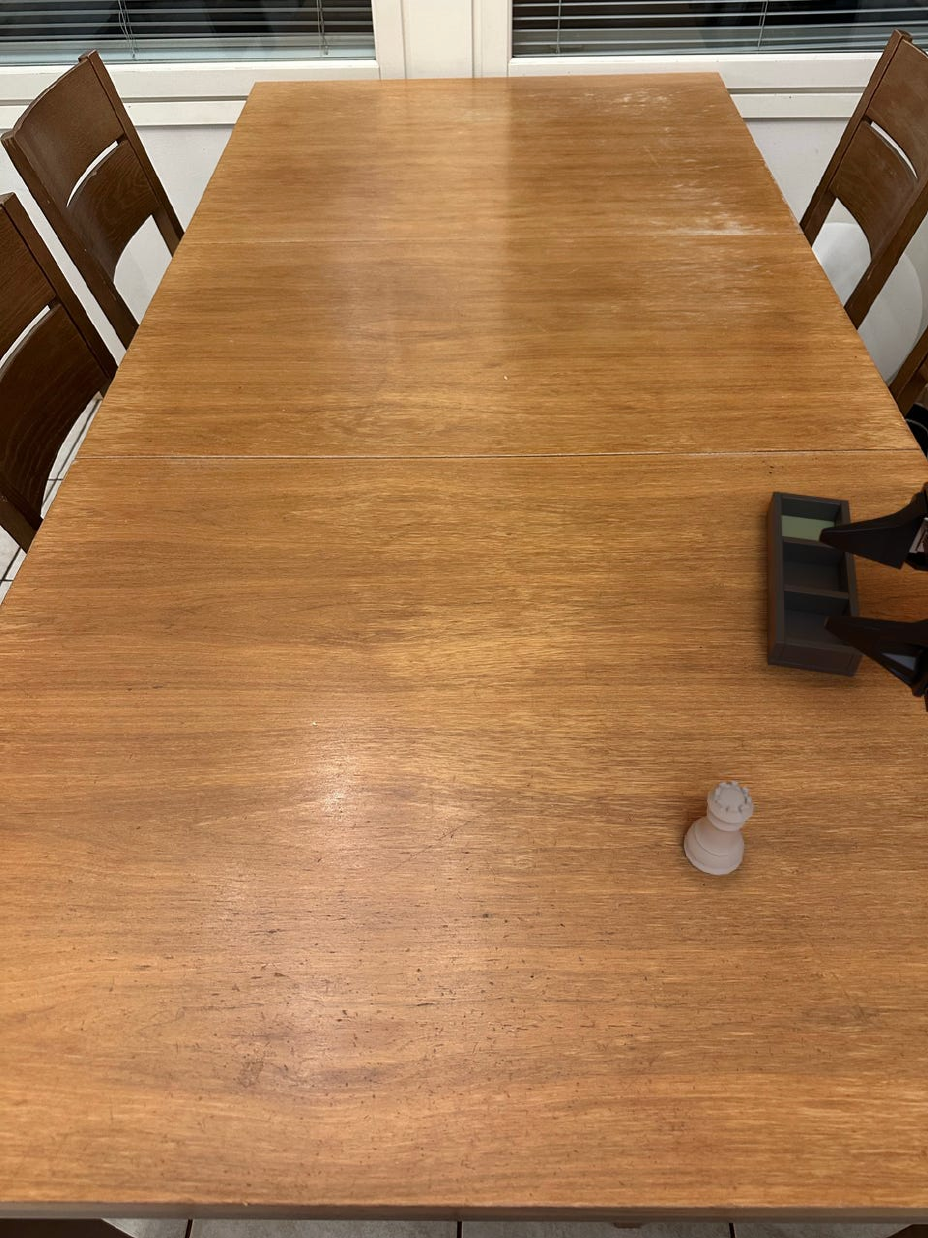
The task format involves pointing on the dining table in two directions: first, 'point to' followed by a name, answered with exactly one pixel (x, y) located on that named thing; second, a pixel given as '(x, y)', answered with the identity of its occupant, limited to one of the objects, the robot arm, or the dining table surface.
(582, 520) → the dining table surface
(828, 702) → the dining table surface
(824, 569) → the rack
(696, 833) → the rook chess piece
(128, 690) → the dining table surface
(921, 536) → the robot arm
